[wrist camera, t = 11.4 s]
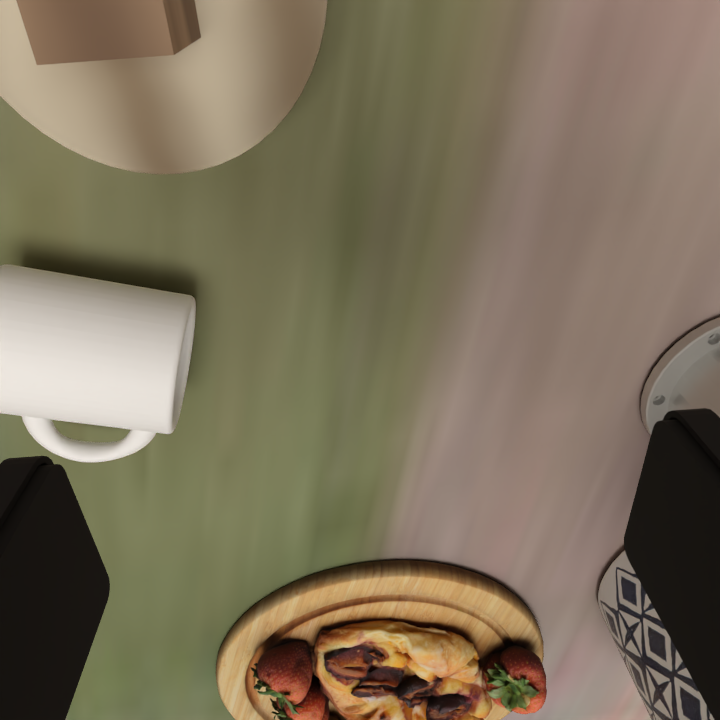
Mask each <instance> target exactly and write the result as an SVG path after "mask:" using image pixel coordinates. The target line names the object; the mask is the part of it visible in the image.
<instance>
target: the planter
mask: <svg viewBox="0 0 720 720" xmlns="http://www.w3.org/2000/svg"><path fill="white" fill-rule="evenodd" d="M598 604H599V608H600V611H601V613H602V615H603V618H604V620H605V622H606V624H607V626H608V628H609V631H610V633H611V635H612V637H613V639H614V641H615V643H616V645H617V648H618V650H619V652H620V654H621V656H622V658H623V660H624V662H625V664H626V667H627V669H628V671H629V673H630V675H631V677H632V679H633V681H634V683H635V686H636V688H637V690H638V692H639V694H640V696H641V698H642V700H643V702H644V704H645V707H646V709H647V711H648V713H649V715H650V717H651V719H652V720H714V718H713V716H712V715H711V713H710V711H709V709H708V707H707V705H706V703H705V702H704V700H703V698H702V696H701V694H700V692H699V690H698V689H697V687H696V685H695V683H694V681H693V679H692V677H691V676H690V674H689V672H688V670H687V668H686V666H685V664H684V663H683V661H682V659H681V657H680V655H679V653H678V651H677V650H676V648H675V646H674V644H673V642H672V640H671V638H670V637H669V635H668V633H667V631H666V629H665V627H664V625H663V624H662V622H661V620H660V618H659V616H658V614H657V612H656V611H655V609H654V607H653V605H652V603H651V601H650V599H649V598H648V596H647V594H646V592H645V590H644V588H643V586H642V585H641V583H640V581H639V579H638V577H637V575H636V573H635V572H634V570H633V568H632V566H631V564H630V562H629V560H628V558H627V555H626V552H625V550H624V551H623V552H622V553H621V554H620V555H619V556H618V557H617V558H616V559H615V560H614V561H613V563H612V564H611V566H610V567H609V568H608V570H607V571H606V573H605V575H604V577H603V579H602V581H601V583H600V588H599V592H598Z"/></svg>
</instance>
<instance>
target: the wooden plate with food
mask: <svg viewBox="0 0 720 720" xmlns="http://www.w3.org/2000/svg"><path fill="white" fill-rule="evenodd" d="M543 657H544V656H543V640H542V636H541V632H540V629H539V626H538V624H537V622H536V620H535V618H534V616H533V614H532V613H531V611H530V610H529V609H528V608H527V607H526V605H525V604H524V603H523V602H522V601H521V600H520V599H519V598H518V597H517V596H515V595H514V594H513V593H511V592H510V591H509V590H507V589H506V588H504V587H503V586H502V585H500V584H498V583H497V582H495V581H493V580H491V579H489V578H487V577H484V576H482V575H480V574H477V573H474V572H471V571H468V570H465V569H462V568H458V567H454V566H450V565H446V564H441V563H434V562H426V561H415V560H387V561H374V562H365V563H359V564H353V565H347V566H342V567H338V568H334V569H329V570H325V571H322V572H319V573H316V574H313V575H309V576H306V577H304V578H302V579H300V580H297V581H295V582H293V583H291V584H289V585H286V586H284V587H282V588H281V589H279V590H277V591H275V592H273V593H272V594H270V595H268V596H267V597H265V598H264V599H262V600H261V601H259V602H258V603H256V604H255V605H254V606H253V607H251V608H250V609H249V610H248V611H247V612H246V613H245V614H244V615H243V616H242V617H241V618H240V619H239V620H238V621H237V622H236V624H235V625H234V626H233V627H232V628H231V630H230V631H229V633H228V634H227V636H226V638H225V640H224V642H223V643H222V645H221V647H220V650H219V653H218V657H217V663H216V680H217V686H218V691H219V695H220V697H221V699H222V701H223V703H224V705H225V707H226V708H227V710H228V711H229V712H230V714H231V715H232V716H233V717H234V719H235V720H500V719H502V718H503V717H505V716H506V715H507V714H509V713H510V712H512V711H514V712H516V713H520V714H528V713H535V712H536V711H538V710H539V709H541V708H542V706H543V704H544V702H545V699H546V692H547V690H546V675H545V672H544V668H543V665H542V661H543Z"/></svg>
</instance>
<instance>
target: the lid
mask: <svg viewBox="0 0 720 720" xmlns="http://www.w3.org/2000/svg"><path fill="white" fill-rule="evenodd" d="M326 10H327V0H0V96H1V97H2V98H3V99H4V100H5V101H6V102H7V103H8V104H9V105H10V106H11V107H12V108H13V109H15V110H16V111H17V112H18V113H19V114H20V115H21V116H22V117H23V118H25V119H26V120H27V121H28V122H30V123H31V124H32V125H33V126H35V127H36V128H37V129H38V130H40V131H41V132H42V133H44V134H45V135H47V136H49V137H50V138H52V139H53V140H55V141H56V142H58V143H60V144H61V145H63V146H64V147H66V148H68V149H70V150H72V151H74V152H76V153H78V154H80V155H82V156H85V157H87V158H89V159H92V160H94V161H97V162H100V163H103V164H106V165H108V166H111V167H116V168H120V169H124V170H128V171H133V172H141V173H150V174H180V173H186V172H193V171H199V170H203V169H206V168H210V167H213V166H216V165H220V164H222V163H224V162H226V161H229V160H231V159H233V158H235V157H237V156H239V155H241V154H242V153H244V152H246V151H247V150H249V149H250V148H252V147H253V146H255V145H257V144H258V143H259V142H260V141H261V140H262V139H264V138H265V137H266V136H267V135H268V134H269V133H271V132H272V131H273V130H274V129H275V128H276V127H277V125H278V124H279V123H280V122H281V121H282V120H283V119H284V118H285V116H286V115H287V114H288V113H289V111H290V110H291V108H292V107H293V105H294V104H295V102H296V101H297V99H298V98H299V96H300V95H301V93H302V91H303V89H304V87H305V85H306V83H307V81H308V79H309V77H310V75H311V73H312V70H313V67H314V64H315V61H316V58H317V55H318V52H319V49H320V45H321V40H322V36H323V31H324V26H325V20H326Z"/></svg>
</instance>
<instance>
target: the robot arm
mask: <svg viewBox="0 0 720 720" xmlns="http://www.w3.org/2000/svg"><path fill="white" fill-rule="evenodd" d="M640 411H641V416H642V421H643V423H644V425H645V427H646V429H647V431H648V433H649V434H650V435H651V438H650V441H649V445H648V449H647V453H646V457H645V460H644V464H643V468H642V472H641V475H640V479H639V483H638V487H637V491H636V494H635V498H634V502H633V506H632V510H631V513H630V517H629V521H628V525H627V529H626V532H625V537H624V547H625V552H626V555H627V558H628V560H629V562H630V564H631V566H632V568H633V570H634V572H635V573H636V575H637V577H638V579H639V581H640V583H641V585H642V586H643V588H644V590H645V592H646V594H647V596H648V598H649V599H650V601H651V603H652V605H653V607H654V609H655V611H656V612H657V614H658V616H659V618H660V620H661V622H662V624H663V625H664V627H665V629H666V631H667V633H668V635H669V637H670V638H671V640H672V642H673V644H674V646H675V648H676V650H677V651H678V653H679V655H680V657H681V659H682V661H683V663H684V664H685V666H686V668H687V670H688V672H689V674H690V676H691V677H692V679H693V681H694V683H695V685H696V687H697V689H698V690H699V692H700V694H701V696H702V698H703V700H704V702H705V703H706V705H707V707H708V709H709V711H710V713H711V715H712V716H713V718H714V720H720V317H719V318H716V319H714V320H711V321H709V322H707V323H705V324H703V325H702V326H700V327H698V328H696V329H695V330H693V331H691V332H690V333H689V334H687V335H686V336H685V337H683V338H682V339H681V340H679V341H678V342H677V343H676V344H675V345H674V346H673V347H672V348H671V349H670V350H669V351H668V352H667V353H666V354H665V355H664V356H663V357H662V358H661V359H660V361H659V362H658V363H657V365H656V366H655V367H654V369H653V370H652V372H651V374H650V376H649V378H648V380H647V382H646V384H645V387H644V390H643V393H642V397H641V408H640ZM109 590H110V583H109V577H108V574H107V572H106V569H105V567H104V564H103V562H102V559H101V557H100V555H99V552H98V550H97V547H96V545H95V542H94V540H93V538H92V535H91V533H90V530H89V528H88V525H87V523H86V520H85V518H84V516H83V513H82V511H81V508H80V506H79V503H78V501H77V499H76V496H75V494H74V491H73V489H72V486H71V484H70V482H69V479H68V477H67V474H66V472H65V470H64V468H63V467H62V466H61V465H58V464H53V462H52V460H51V459H50V458H48V457H47V456H35V457H21V458H8V459H6V460H4V461H3V462H2V463H1V464H0V720H65V719H66V716H67V713H68V710H69V708H70V705H71V702H72V699H73V696H74V693H75V691H76V688H77V685H78V682H79V679H80V677H81V674H82V671H83V668H84V665H85V662H86V660H87V657H88V654H89V651H90V648H91V646H92V643H93V640H94V637H95V634H96V632H97V629H98V626H99V623H100V620H101V617H102V615H103V612H104V609H105V606H106V603H107V600H108V597H109Z"/></svg>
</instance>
